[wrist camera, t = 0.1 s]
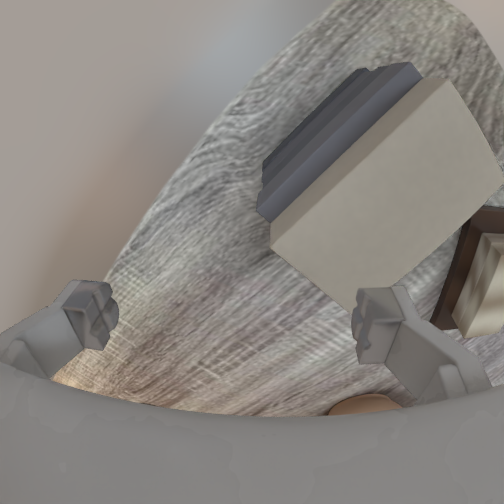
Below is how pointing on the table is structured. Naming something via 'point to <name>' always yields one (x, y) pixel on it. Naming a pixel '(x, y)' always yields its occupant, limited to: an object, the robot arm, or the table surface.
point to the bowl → (364, 405)
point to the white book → (390, 195)
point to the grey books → (330, 133)
